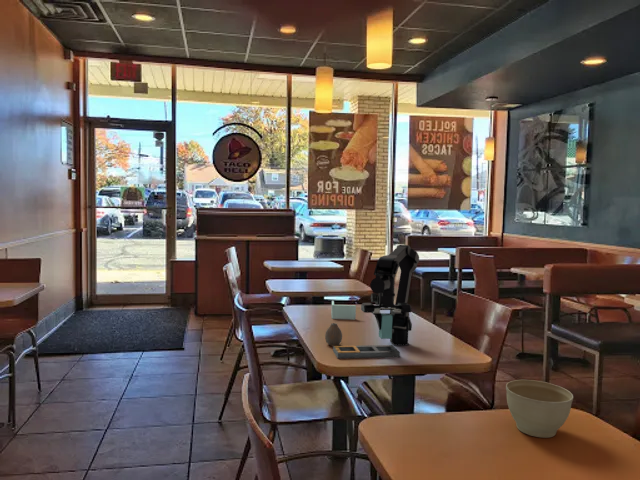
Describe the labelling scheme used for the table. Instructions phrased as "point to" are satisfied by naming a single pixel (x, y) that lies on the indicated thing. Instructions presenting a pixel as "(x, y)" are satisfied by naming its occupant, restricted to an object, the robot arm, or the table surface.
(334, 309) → the l-shaped corner panel
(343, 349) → the grey slotted tray
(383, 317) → the peg
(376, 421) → the table surface
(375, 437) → the table surface
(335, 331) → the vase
